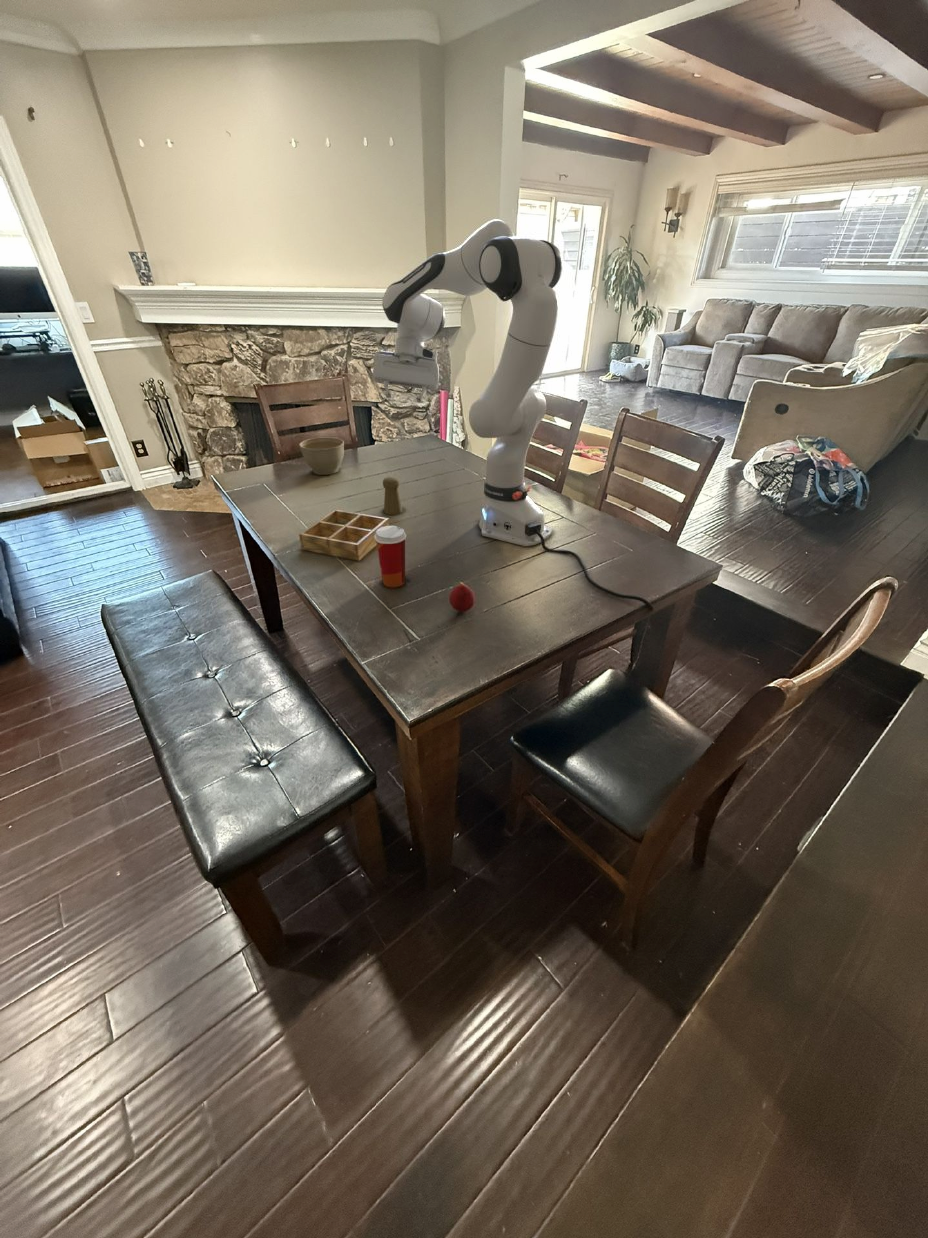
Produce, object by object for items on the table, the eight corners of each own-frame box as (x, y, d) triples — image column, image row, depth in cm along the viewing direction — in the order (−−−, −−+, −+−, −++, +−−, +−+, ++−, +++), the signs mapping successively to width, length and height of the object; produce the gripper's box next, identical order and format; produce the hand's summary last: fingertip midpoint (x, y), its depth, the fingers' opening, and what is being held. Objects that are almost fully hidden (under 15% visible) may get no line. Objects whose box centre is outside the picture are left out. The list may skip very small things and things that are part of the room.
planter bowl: (355, 469, 199) (352, 440, 193) (326, 481, 188) (321, 451, 182) (325, 461, 206) (321, 434, 200) (295, 473, 195) (290, 444, 189)
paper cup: (394, 571, 135) (390, 521, 127) (415, 580, 131) (412, 530, 123) (372, 582, 130) (366, 532, 122) (393, 593, 126) (389, 541, 118)
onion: (473, 605, 122) (474, 576, 117) (475, 618, 117) (475, 589, 113) (449, 605, 122) (449, 576, 117) (449, 619, 117) (449, 589, 112)
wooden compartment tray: (389, 533, 153) (388, 518, 151) (359, 560, 139) (357, 544, 137) (336, 523, 159) (334, 509, 156) (301, 549, 144) (298, 534, 142)
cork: (401, 514, 165) (399, 481, 158) (382, 514, 165) (379, 481, 158) (403, 507, 170) (401, 474, 163) (385, 506, 170) (382, 474, 163)
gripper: (373, 343, 153) (368, 389, 153) (441, 354, 155) (436, 399, 154) (375, 354, 159) (370, 398, 159) (440, 364, 161) (436, 408, 161)
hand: (403, 399), depth 157 cm, fingers open, 8 cm apart
